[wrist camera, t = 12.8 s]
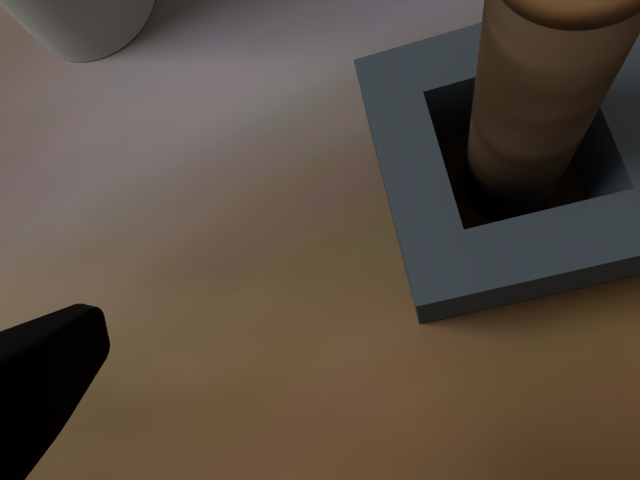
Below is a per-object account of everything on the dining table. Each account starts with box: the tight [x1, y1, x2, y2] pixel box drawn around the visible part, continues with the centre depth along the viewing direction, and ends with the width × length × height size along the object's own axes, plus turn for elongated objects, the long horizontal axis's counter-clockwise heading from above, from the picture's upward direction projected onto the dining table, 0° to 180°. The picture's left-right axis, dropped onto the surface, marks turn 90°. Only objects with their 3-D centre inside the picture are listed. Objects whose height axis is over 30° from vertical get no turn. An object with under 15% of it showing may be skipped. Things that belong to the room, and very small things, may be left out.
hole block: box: [354, 23, 640, 324], centre depth 21 cm, size 10×10×4 cm
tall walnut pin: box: [464, 0, 640, 221], centre depth 17 cm, size 4×4×13 cm
